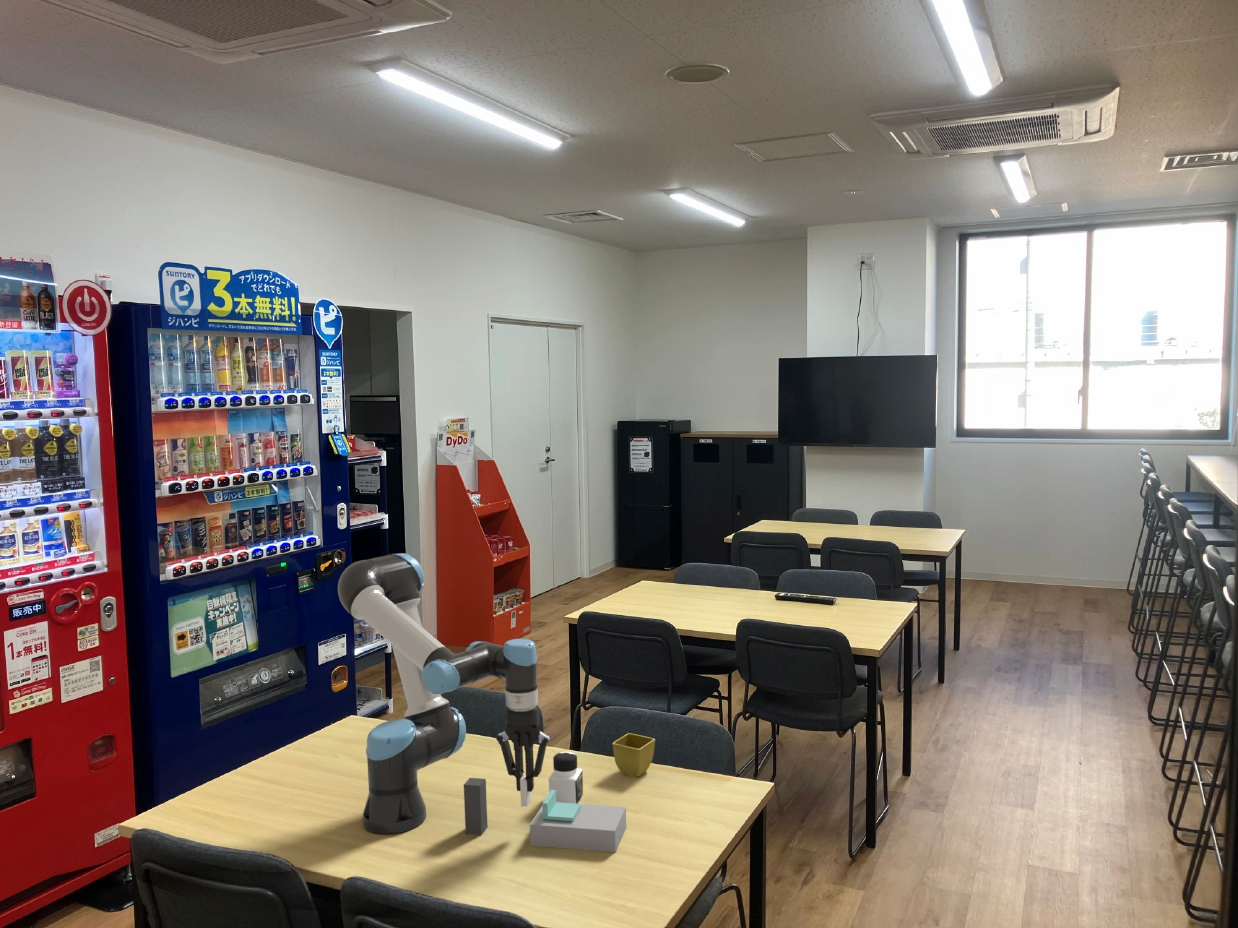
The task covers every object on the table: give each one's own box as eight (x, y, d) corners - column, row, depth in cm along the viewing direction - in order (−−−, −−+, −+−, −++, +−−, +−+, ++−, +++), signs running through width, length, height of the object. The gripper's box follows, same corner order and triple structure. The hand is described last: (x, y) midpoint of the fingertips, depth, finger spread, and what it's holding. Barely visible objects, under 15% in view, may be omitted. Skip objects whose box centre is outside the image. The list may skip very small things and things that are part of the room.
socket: (530, 845, 211) (529, 824, 210) (545, 821, 222) (544, 801, 222) (615, 852, 207) (615, 830, 206) (626, 827, 218) (625, 806, 218)
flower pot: (656, 770, 251) (656, 738, 250) (640, 782, 243) (639, 749, 243) (629, 763, 255) (628, 732, 255) (612, 775, 248) (611, 743, 247)
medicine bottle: (576, 807, 230) (575, 760, 229) (549, 805, 231) (547, 759, 230) (583, 794, 237) (582, 749, 236) (556, 793, 238) (555, 748, 237)
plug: (465, 833, 217) (463, 784, 216) (471, 825, 221) (469, 777, 220) (481, 834, 216) (479, 785, 215) (487, 826, 220) (485, 778, 219)
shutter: (542, 818, 212) (542, 803, 212) (551, 805, 219) (551, 789, 219) (573, 821, 211) (572, 805, 210) (580, 807, 218) (580, 791, 217)
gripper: (490, 710, 213) (494, 808, 214) (544, 713, 210) (547, 812, 212) (501, 699, 220) (504, 795, 222) (553, 702, 217) (556, 798, 219)
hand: (525, 803), depth 217 cm, fingers closed
